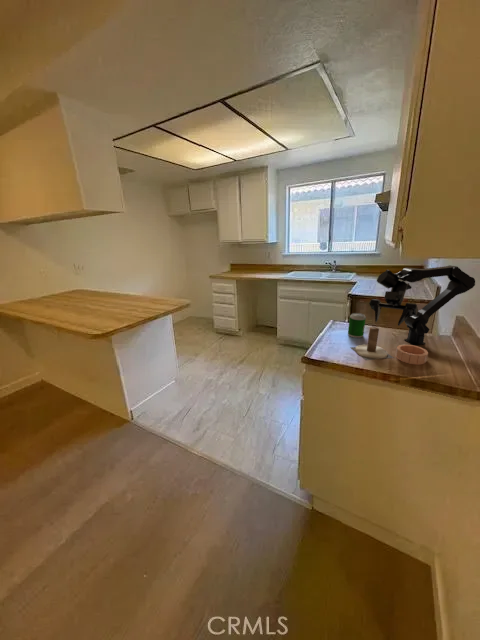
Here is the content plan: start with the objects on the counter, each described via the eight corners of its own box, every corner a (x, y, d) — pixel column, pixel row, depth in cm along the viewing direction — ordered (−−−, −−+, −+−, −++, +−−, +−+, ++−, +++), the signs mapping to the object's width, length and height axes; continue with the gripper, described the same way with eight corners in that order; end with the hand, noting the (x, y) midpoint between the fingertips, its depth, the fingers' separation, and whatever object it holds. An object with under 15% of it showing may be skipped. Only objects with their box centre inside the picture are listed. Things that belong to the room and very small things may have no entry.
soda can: (361, 340, 134) (364, 317, 130) (345, 337, 138) (348, 315, 134) (364, 335, 139) (367, 314, 135) (350, 332, 144) (352, 311, 140)
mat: (349, 348, 125) (349, 347, 125) (375, 346, 126) (375, 345, 126) (365, 361, 112) (365, 360, 112) (393, 359, 114) (393, 357, 114)
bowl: (389, 354, 118) (391, 345, 116) (412, 352, 119) (414, 343, 118) (407, 366, 107) (409, 356, 106) (432, 364, 109) (434, 354, 107)
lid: (349, 347, 125) (352, 324, 121) (375, 345, 126) (379, 322, 122) (365, 360, 112) (369, 335, 109) (394, 357, 114) (398, 332, 110)
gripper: (372, 282, 122) (360, 311, 118) (419, 285, 109) (408, 318, 105) (377, 294, 129) (366, 322, 126) (422, 299, 116) (411, 330, 113)
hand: (386, 323), depth 117 cm, fingers open, 9 cm apart
